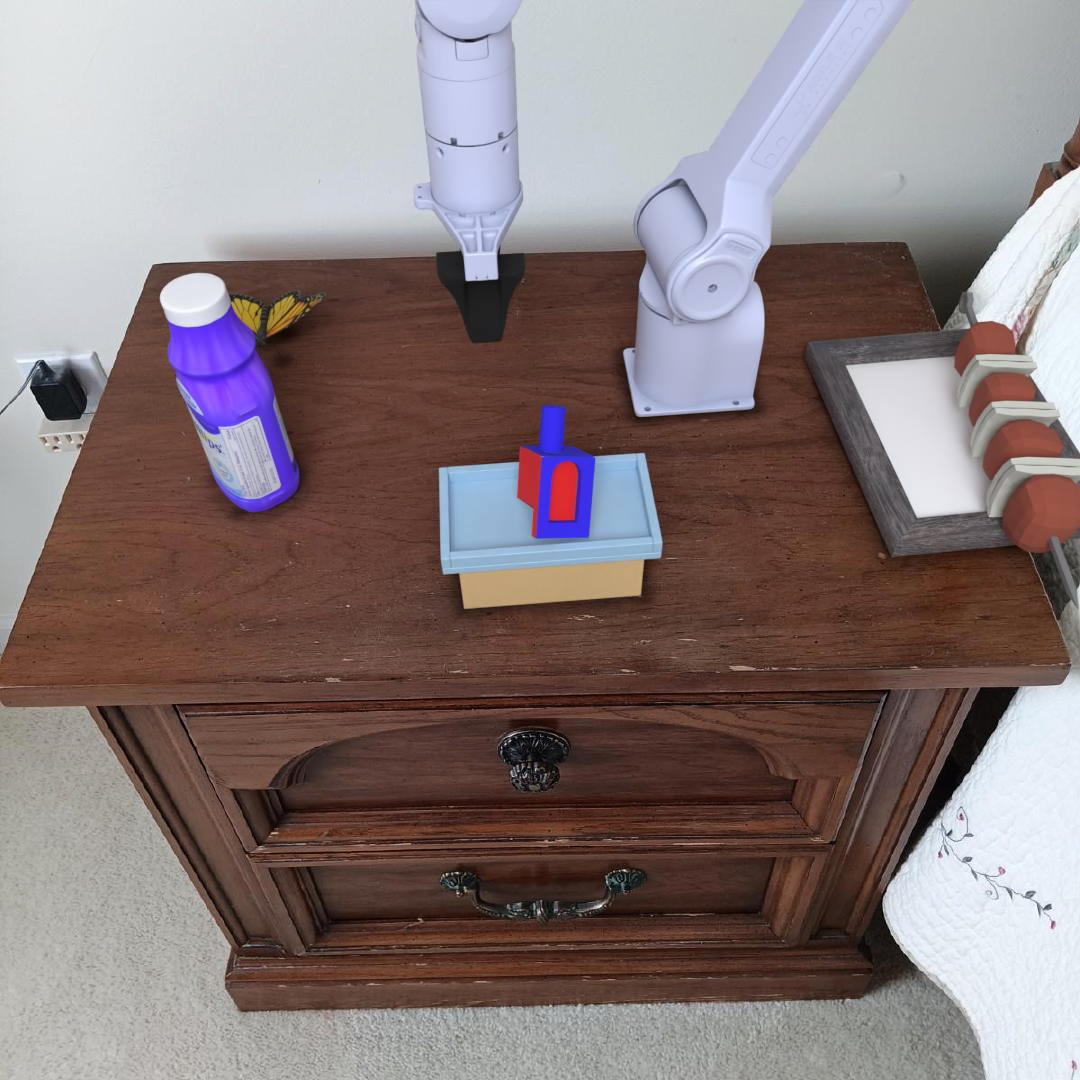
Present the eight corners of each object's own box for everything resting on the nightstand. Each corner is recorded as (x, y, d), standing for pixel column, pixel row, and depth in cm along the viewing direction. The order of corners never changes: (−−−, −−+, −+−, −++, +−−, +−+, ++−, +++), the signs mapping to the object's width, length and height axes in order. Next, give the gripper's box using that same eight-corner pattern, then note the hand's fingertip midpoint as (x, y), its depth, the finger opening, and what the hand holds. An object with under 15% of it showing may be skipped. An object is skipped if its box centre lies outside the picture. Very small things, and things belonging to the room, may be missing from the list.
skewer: (981, 321, 82) (1097, 632, 63) (924, 320, 82) (1023, 630, 63) (1005, 269, 78) (1137, 585, 59) (945, 267, 78) (1058, 583, 59)
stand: (639, 510, 73) (644, 452, 68) (656, 599, 68) (663, 542, 63) (447, 525, 72) (438, 467, 68) (449, 615, 67) (440, 559, 63)
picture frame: (998, 325, 82) (1123, 520, 69) (990, 345, 84) (1110, 539, 70) (808, 341, 81) (897, 543, 68) (803, 360, 82) (889, 561, 69)
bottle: (203, 473, 76) (125, 281, 63) (270, 440, 78) (208, 248, 65) (247, 530, 73) (174, 339, 59) (316, 494, 75) (260, 301, 61)
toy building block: (565, 522, 68) (574, 403, 66) (589, 538, 64) (599, 412, 62) (515, 523, 66) (523, 401, 64) (536, 539, 62) (544, 410, 61)
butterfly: (188, 386, 83) (169, 337, 79) (204, 319, 88) (187, 271, 84) (333, 377, 83) (321, 329, 79) (339, 311, 89) (329, 263, 85)
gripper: (406, 71, 66) (427, 249, 76) (404, 191, 57) (428, 375, 67) (513, 65, 66) (520, 244, 77) (529, 184, 57) (534, 369, 67)
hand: (484, 305), depth 72 cm, fingers open, 7 cm apart
